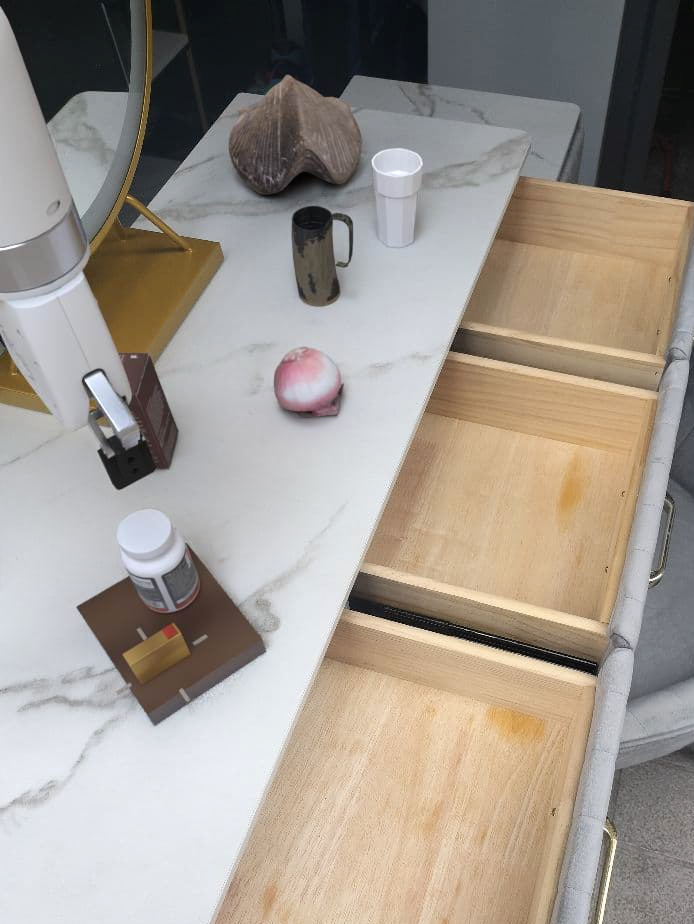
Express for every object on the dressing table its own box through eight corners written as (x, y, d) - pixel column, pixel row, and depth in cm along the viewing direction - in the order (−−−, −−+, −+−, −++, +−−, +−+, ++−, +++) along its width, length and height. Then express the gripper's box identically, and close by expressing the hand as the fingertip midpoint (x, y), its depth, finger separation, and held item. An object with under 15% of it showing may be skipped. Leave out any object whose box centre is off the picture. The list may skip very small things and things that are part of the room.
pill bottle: (194, 557, 81) (171, 496, 72) (206, 604, 78) (184, 545, 70) (135, 574, 80) (106, 514, 71) (146, 622, 76) (116, 565, 68)
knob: (141, 685, 73) (129, 664, 69) (134, 674, 73) (121, 652, 70) (191, 654, 75) (180, 632, 71) (183, 643, 75) (172, 621, 72)
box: (140, 430, 94) (109, 350, 84) (179, 431, 93) (153, 351, 84) (128, 470, 90) (95, 392, 80) (168, 472, 90) (140, 394, 80)
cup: (413, 219, 117) (414, 145, 108) (426, 246, 113) (428, 172, 104) (368, 226, 116) (366, 152, 107) (380, 254, 112) (378, 180, 103)
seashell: (213, 99, 119) (268, 41, 108) (305, 126, 130) (364, 76, 119) (230, 205, 119) (287, 158, 108) (321, 223, 130) (382, 181, 119)
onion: (317, 370, 99) (312, 324, 93) (358, 405, 96) (355, 359, 90) (264, 401, 96) (255, 355, 90) (304, 438, 93) (297, 393, 87)
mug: (290, 301, 107) (280, 219, 97) (306, 275, 110) (297, 193, 100) (348, 313, 105) (343, 231, 95) (361, 287, 108) (358, 205, 98)
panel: (73, 625, 79) (64, 612, 77) (191, 555, 84) (185, 540, 82) (149, 742, 72) (141, 731, 70) (272, 659, 77) (269, 646, 75)
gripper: (-104, 192, 49) (8, 395, 63) (15, 347, 41) (112, 539, 55) (14, 149, 52) (96, 353, 66) (147, 288, 44) (208, 485, 58)
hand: (104, 438), depth 61 cm, fingers open, 9 cm apart
